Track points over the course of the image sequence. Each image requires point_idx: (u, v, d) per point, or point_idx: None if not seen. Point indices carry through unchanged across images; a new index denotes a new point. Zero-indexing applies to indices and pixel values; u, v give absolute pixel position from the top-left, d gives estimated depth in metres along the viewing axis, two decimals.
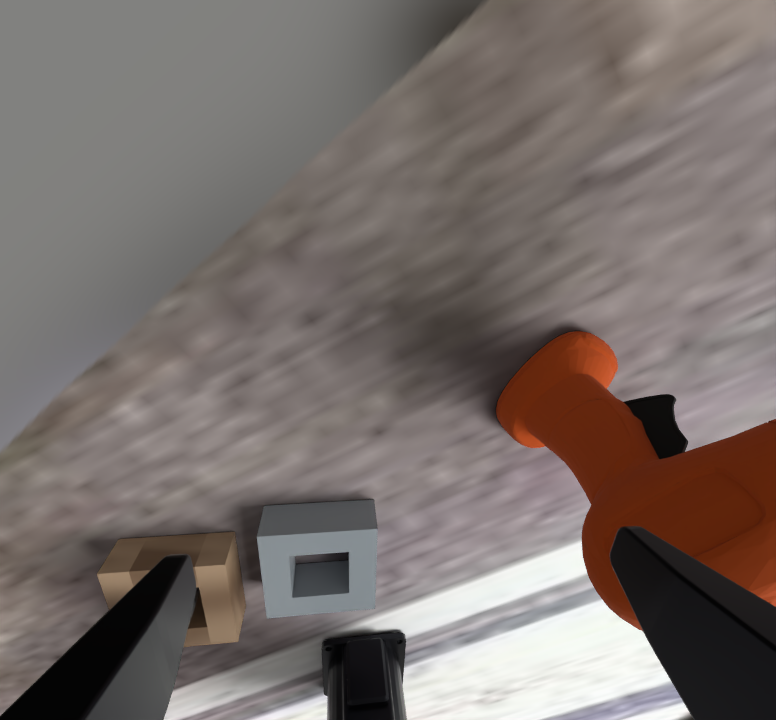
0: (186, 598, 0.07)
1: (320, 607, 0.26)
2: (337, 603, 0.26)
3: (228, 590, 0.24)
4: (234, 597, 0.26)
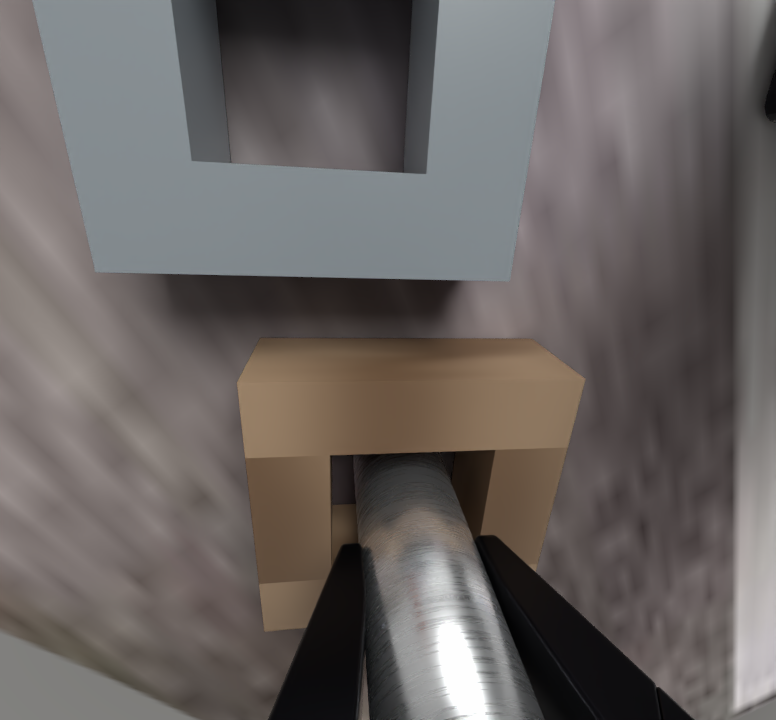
0: None
1: (509, 50, 0.06)
2: None
3: (351, 382, 0.08)
4: (421, 367, 0.09)
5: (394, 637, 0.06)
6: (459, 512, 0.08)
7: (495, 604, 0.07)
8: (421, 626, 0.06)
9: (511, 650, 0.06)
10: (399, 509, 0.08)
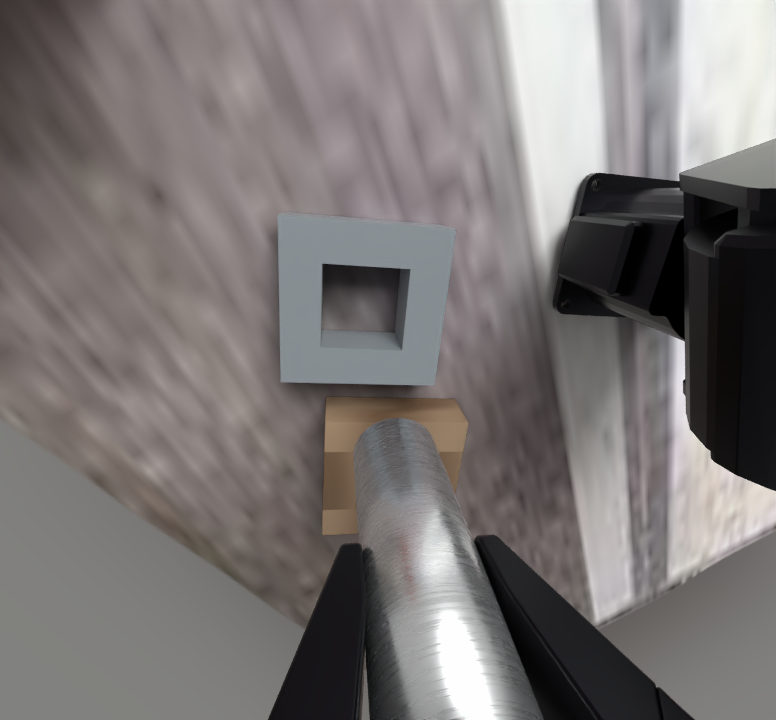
0: None
1: (431, 314, 0.17)
2: (428, 288, 0.17)
3: (370, 422, 0.19)
4: (399, 415, 0.20)
5: (394, 638, 0.06)
6: (459, 513, 0.08)
7: (495, 606, 0.07)
8: (421, 627, 0.06)
9: (511, 651, 0.06)
10: (399, 510, 0.08)
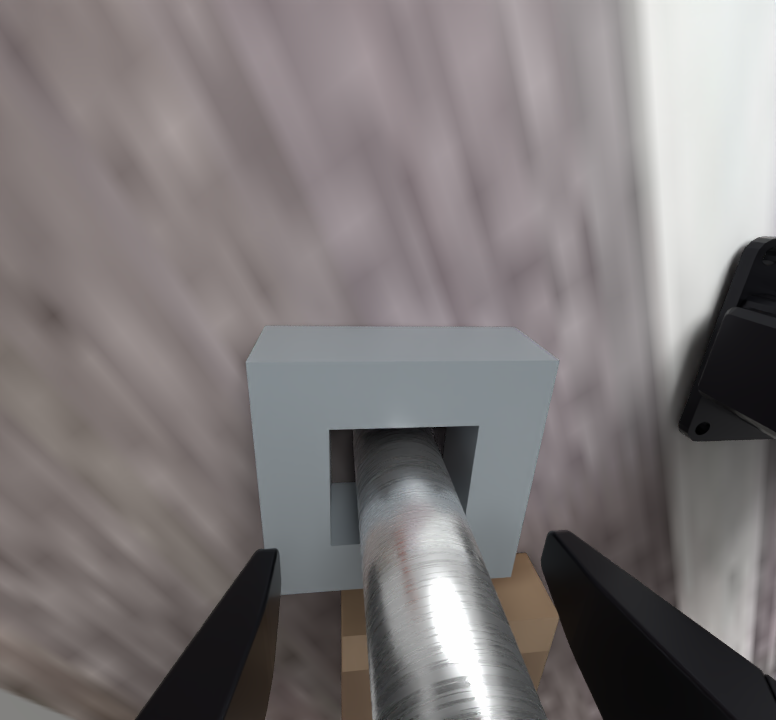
0: (278, 591, 0.08)
1: (510, 485, 0.11)
2: (507, 450, 0.10)
3: None
4: None
5: (389, 578, 0.07)
6: (448, 481, 0.09)
7: (478, 554, 0.07)
8: (412, 567, 0.07)
9: (489, 588, 0.07)
10: (394, 477, 0.09)
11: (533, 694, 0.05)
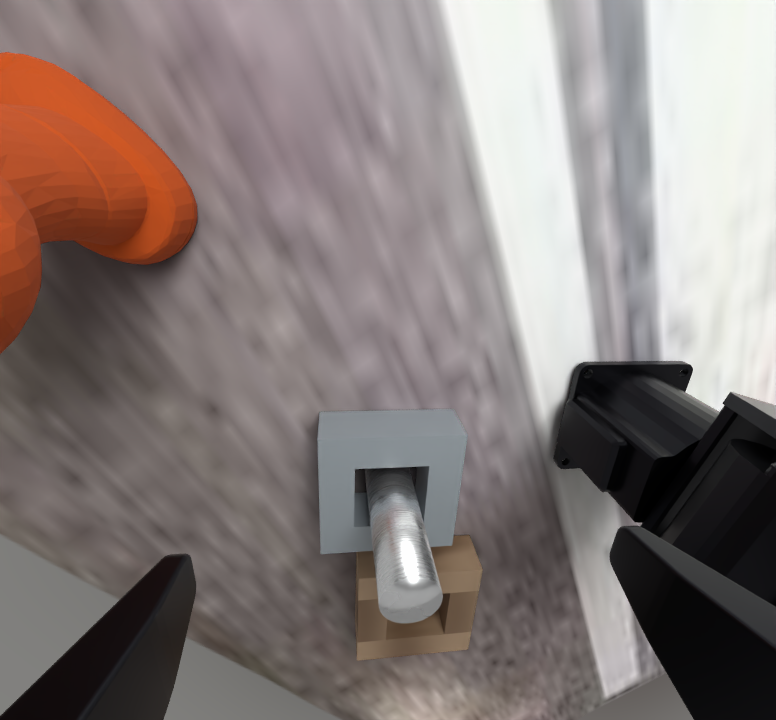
0: (186, 598, 0.07)
1: (448, 495, 0.20)
2: (444, 478, 0.20)
3: None
4: None
5: (383, 536, 0.16)
6: (413, 494, 0.19)
7: (422, 527, 0.17)
8: (392, 531, 0.16)
9: (425, 540, 0.16)
10: (386, 492, 0.18)
11: (434, 574, 0.15)
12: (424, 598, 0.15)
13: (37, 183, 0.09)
